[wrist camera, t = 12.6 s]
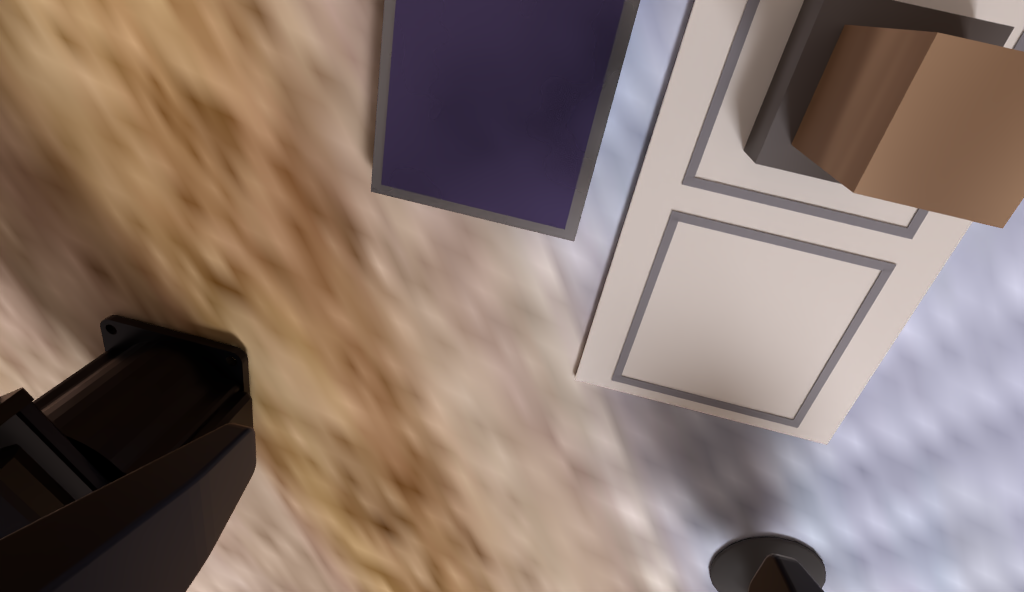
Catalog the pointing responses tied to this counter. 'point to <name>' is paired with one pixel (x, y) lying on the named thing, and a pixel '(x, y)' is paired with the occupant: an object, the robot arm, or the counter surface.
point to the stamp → (899, 107)
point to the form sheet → (758, 248)
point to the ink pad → (497, 105)
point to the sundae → (759, 562)
